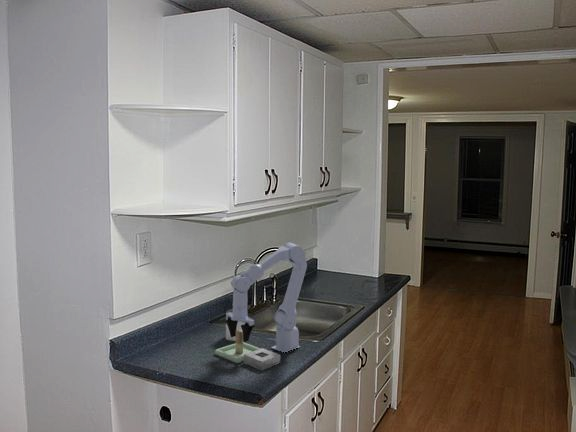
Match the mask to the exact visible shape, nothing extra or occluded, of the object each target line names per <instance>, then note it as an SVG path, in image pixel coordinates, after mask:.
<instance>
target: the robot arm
mask: <svg viewBox="0 0 576 432" xmlns="http://www.w3.org/2000/svg"><path fill="white" fill-rule="evenodd" d="M306 255H307V253H306V251H305V249H304V248H303V247H302V246H300V245H297V244H295V243H293V242H290V241H289V242H285V243H284V244H283V245H281V246H279V247H278V249H277V250H275V251H274V252H272V254H270V255H269V256H268V257H267V258H266V259H264V260H263V261H262V262H260V263H259V264H258V263H254V264H250V265H249V268H247V269H246V270H244V271H241V272H240V273H239V275H238V274H237V275H236V276H234V277H233V278H232V280H231V282H230V285H231V287H232V288H233V291H232V309H233V313H231V312H229V313H226V312H225V320H224V321H225V325H226V324H227V326H228V328H229V331H230V335H231V337H234V336H236V328H237V323H238V321H240V322H243V323H245V324H244V325H241V328H242V331H243V342H244V343H247V342H248V341H249V340H250V338H251V337H250V336H251V333H252V330H253V329H254V328H255V320H254V319H252V318H251V317H249V316H248V290H249V289H250V287H251V285H253V284H254V283H255V282H257V281H259V279H261V278H262V277H264V275H265V272H266V271H267V270H268V269H270V268H272V267H273V266H275V265H277V264H278V263H279V262H281V261H284V262H285V261H287V262H288V261H289V262H290V264H291V265H292V271H291V274H290V278H289V281H288V284H287V288H286V291H285V295H284V299H283V302H282V304H280V305H279V307H278V310H276V312H275V313H274V317H273V319H274V322H275V323H276V329H275V331H276V332H275V345H273V346H271V349H273V350H276V351H278V352H280V351H281V353H283V352H284V353H283V354H286V353H285V352H287V353H289V352H288V351H290V350H292V351H294V350H293V349H295V350H297V349H296V348H298V349H300V348H301V346H300V345H299V343H300V340H299V339H300V332H299V329H298V327H297V326H296V325H297V314H298V312H297V307H296V306H297V303H298V299H299V296H300V293H301V289H302V285H303V283H304V279H305V278H304V277H305V276H306V272H307V268H308V263H307V257H306ZM226 318H228V319H227V320H226ZM299 347H300V348H299ZM290 352H291V351H290Z"/></svg>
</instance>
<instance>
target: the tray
mask: <svg viewBox="0 0 576 432" xmlns="http://www.w3.org/2000/svg"><path fill="white" fill-rule="evenodd" d="M235 346H236V342H235V343H232V344H229V345H225V346H223V347H219V348H217V349H215V351H214V352H215V353H214V354H215V355H216V356H218V357H220V358H222V359H225V360H228V361H230V362H232V363H235V364H239V363H242V362H243V363H244V354H247V353H250V352H252V351H255V350H258V349H261V348H260V347H257V346H255V345H252V344H249V343H247V342H244V341H243V354H236V353H235Z"/></svg>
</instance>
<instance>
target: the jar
mask: <svg viewBox="0 0 576 432" xmlns="http://www.w3.org/2000/svg"><path fill="white" fill-rule="evenodd" d="M229 312H231V313H233V308H230V309H227V310H226V311H225V314H226V313H229ZM227 319H228V318H226V317H225V320H227ZM244 324H245V323H243V322H240V321H238V323H237V328H236V331H237V330H242V328H241V325H244ZM225 340H228V341H230V342H231V341H232V342H236V336H234V337H231V335H230V331H229V328H228V326H227V324H226V323H225Z"/></svg>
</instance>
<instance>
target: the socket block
mask: <svg viewBox="0 0 576 432" xmlns="http://www.w3.org/2000/svg"><path fill="white" fill-rule="evenodd" d="M279 363H280V364H281V354H279V353H277V352H273V351H271V350H268V349H267V348H263V347H262V348H260V349H258V350H255V351H252V352H250V353H247V354H244V361H243V364H244V365H247V366H249V367H252V368H254V369H256V370H259V371H265V370H267V369H270V368H272V366H273V367H275V366H277V364H278V365H280V364H279ZM274 365H275V366H274Z"/></svg>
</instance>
